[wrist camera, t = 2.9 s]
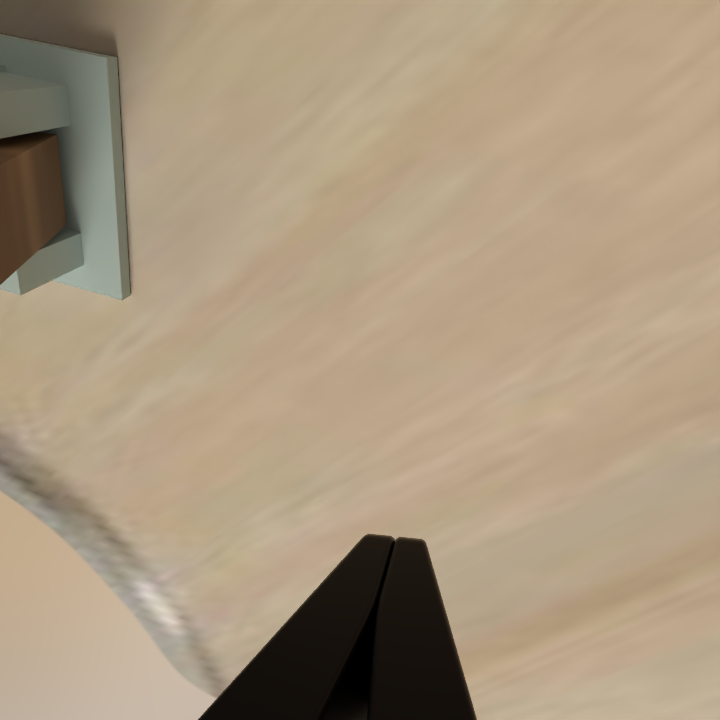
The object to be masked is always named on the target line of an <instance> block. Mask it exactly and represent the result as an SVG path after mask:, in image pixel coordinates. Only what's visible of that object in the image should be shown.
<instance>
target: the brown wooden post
mask: <svg viewBox="0 0 720 720" xmlns="http://www.w3.org/2000/svg"><path fill="white" fill-rule="evenodd" d="M66 225H67V223H66V214H65V205H64V195H63V186H62V177H61V167H60V158H59V149H58V139H57V134H51V133H43V132H33V133H27V134H22V135H17V136H12V137H6V138H1V139H0V285H1V284H2V283H3V282H4V281H5V280H6V279H7V278H9V277H10V276H11V275H12V274H13V273H14V272H15V271H16V270H17V269H18V268H20V267H21V266H22V265H23V264H24V263H25V262H26V261H27V260H28V259H29V258H31V257H32V256H33V255H34V254H35V253H36V252H37V251H38V250H39V249H40V248H42V247H43V246H44V245H45V244H46V243H47V242H48V241H49V240H50V239H51V238H53V237H54V236H55V235H56V234H57V233H58V232H59V231H60V230H61V229H62V228H64V227H65V226H66Z"/></svg>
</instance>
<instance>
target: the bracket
mask: <svg viewBox="0 0 720 720" xmlns="http://www.w3.org/2000/svg"><path fill="white" fill-rule="evenodd" d="M33 132H43V133H51V134H57V139H58V149H59V158H60V167H61V177H62V186H63V195H64V205H65V214H66V223H67V225H66V226H65V227H64V228H62V229H61V230H60V231H59V232H58V233H57V234H56V235H55V236H54V237H53V238H51V239H50V240H49V241H48V242H47V243H46V244H45V245H44V246H43V247H42V248H40V249H39V250H38V251H37V252H36V253H35V254H34V255H33V256H32V257H31V258H29V259H28V260H27V261H26V262H25V263H24V264H23V265H22V266H21V267H20V268H18V269H17V270H16V271H15V272H14V273H13V274H12V275H11V276H10V277H9V278H7V279H6V280H5V281H4V282H3V283H2V284H1V285H0V289H1V290H4V291H8V292H11V293H14V294H18V295H22V294H24V293H26V292H29V291H31V290H33V289H35V288H37V287H39V286H41V285H43V284H45V283H47V282H49V281H51V280H52V281H56V282H59V283H63V284H66V285H70V286H73V287H77V288H80V289H84V290H88V291H91V292H95V293H98V294H102V295H105V296H109V297H112V298H116V299H119V300H123V299H125V298H127V297H128V296H130V279H129V261H128V243H127V225H126V207H125V189H124V171H123V153H122V135H121V117H120V99H119V81H118V63H117V57H114V56H109V55H104V54H99V53H94V52H89V51H84V50H79V49H74V48H69V47H64V46H59V45H54V44H49V43H44V42H39V41H34V40H29V39H24V38H19V37H14V36H9V35H4V34H0V139H1V138H6V137H12V136H17V135H22V134H27V133H33Z"/></svg>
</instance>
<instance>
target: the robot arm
mask: <svg viewBox="0 0 720 720" xmlns="http://www.w3.org/2000/svg"><path fill="white" fill-rule="evenodd" d="M198 720H477V718H476V715H475V711H474V708H473V704H472V701H471V698H470V694H469V691H468V687H467V684H466V680H465V677H464V673H463V670H462V666H461V663H460V659H459V656H458V652H457V649H456V645H455V642H454V639H453V635H452V632H451V628H450V625H449V621H448V618H447V614H446V611H445V607H444V604H443V600H442V597H441V593H440V590H439V586H438V583H437V579H436V576H435V573H434V569H433V566H432V562H431V559H430V555H429V552H428V548H427V545H426V543H425V541H424V540H422V539H415V538H406V537H399V538H397V539H396V540H395V539H394V538H393V537H392V536H386V535H376V534H367V535H365V536H364V537H363V538H362V539H361V540H360V541H359V542H358V543H357V544H356V545H355V547H354V548H353V549H352V550H351V551H350V552H349V553H348V554H347V555H346V557H345V558H344V559H343V560H342V561H341V562H340V563H339V564H338V565H337V567H336V568H335V569H334V570H333V571H332V572H331V573H330V574H329V575H328V576H327V578H326V579H325V580H324V581H323V582H322V583H321V584H320V585H319V586H318V588H317V589H316V590H315V591H314V592H313V593H312V594H311V595H310V596H309V597H308V599H307V600H306V601H305V602H304V603H303V604H302V605H301V606H300V607H299V609H298V610H297V611H296V612H295V613H294V614H293V615H292V616H291V617H290V618H289V620H288V621H287V622H286V623H285V624H284V625H283V626H282V627H281V628H280V630H279V631H278V632H277V633H276V634H275V635H274V636H273V637H272V638H271V639H270V641H269V642H268V643H267V644H266V645H265V646H264V647H263V648H262V649H261V651H260V652H259V653H258V654H257V655H256V656H255V657H254V658H253V659H252V660H251V662H250V663H249V664H248V665H247V666H246V667H245V668H244V669H243V670H242V672H241V673H240V674H239V675H238V676H237V677H236V678H235V679H234V680H233V681H232V683H231V684H230V685H229V686H228V687H227V688H226V689H225V690H224V691H223V693H222V694H221V695H220V696H219V697H218V698H217V699H216V700H215V701H214V703H213V704H212V705H211V706H210V707H209V708H208V709H207V710H206V711H205V713H204V714H203V715H202V716H201V717H200V718H199V719H198Z"/></svg>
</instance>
